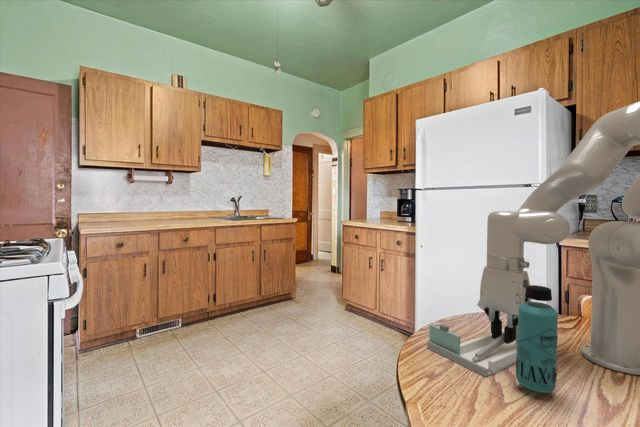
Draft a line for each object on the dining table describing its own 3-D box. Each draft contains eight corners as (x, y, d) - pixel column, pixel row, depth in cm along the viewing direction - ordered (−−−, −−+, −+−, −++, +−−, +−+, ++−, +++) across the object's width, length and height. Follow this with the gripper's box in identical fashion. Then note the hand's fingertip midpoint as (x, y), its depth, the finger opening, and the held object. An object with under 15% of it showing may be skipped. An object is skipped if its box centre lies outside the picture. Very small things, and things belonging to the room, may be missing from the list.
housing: (549, 347, 78) (550, 337, 78) (485, 377, 64) (486, 365, 64) (490, 327, 91) (490, 318, 91) (427, 348, 77) (427, 338, 77)
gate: (460, 357, 72) (460, 331, 72) (457, 358, 71) (457, 332, 71) (432, 343, 79) (432, 320, 79) (428, 344, 78) (429, 320, 78)
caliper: (520, 340, 80) (519, 316, 80) (525, 342, 79) (524, 317, 79) (471, 361, 70) (470, 333, 70) (476, 363, 69) (475, 334, 69)
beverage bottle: (507, 385, 61) (509, 284, 61) (529, 378, 64) (531, 281, 63) (542, 405, 55) (545, 293, 55) (565, 396, 58) (568, 289, 57)
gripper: (550, 267, 70) (548, 349, 70) (482, 257, 83) (480, 325, 84) (533, 271, 66) (531, 358, 66) (464, 259, 80) (462, 331, 80)
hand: (502, 339), depth 75 cm, fingers closed
